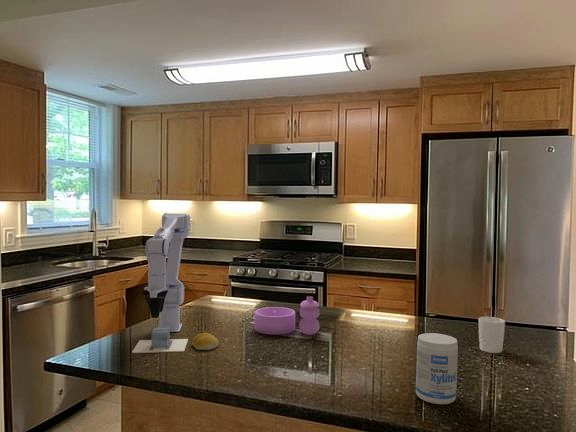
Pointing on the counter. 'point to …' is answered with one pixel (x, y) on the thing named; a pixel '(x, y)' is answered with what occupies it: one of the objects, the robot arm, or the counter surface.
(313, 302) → the container set
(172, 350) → the letter board
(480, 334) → the white cup
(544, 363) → the counter surface
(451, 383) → the supplement tub
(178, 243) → the robot arm
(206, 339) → the bread roll
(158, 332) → the slate-blue cube
